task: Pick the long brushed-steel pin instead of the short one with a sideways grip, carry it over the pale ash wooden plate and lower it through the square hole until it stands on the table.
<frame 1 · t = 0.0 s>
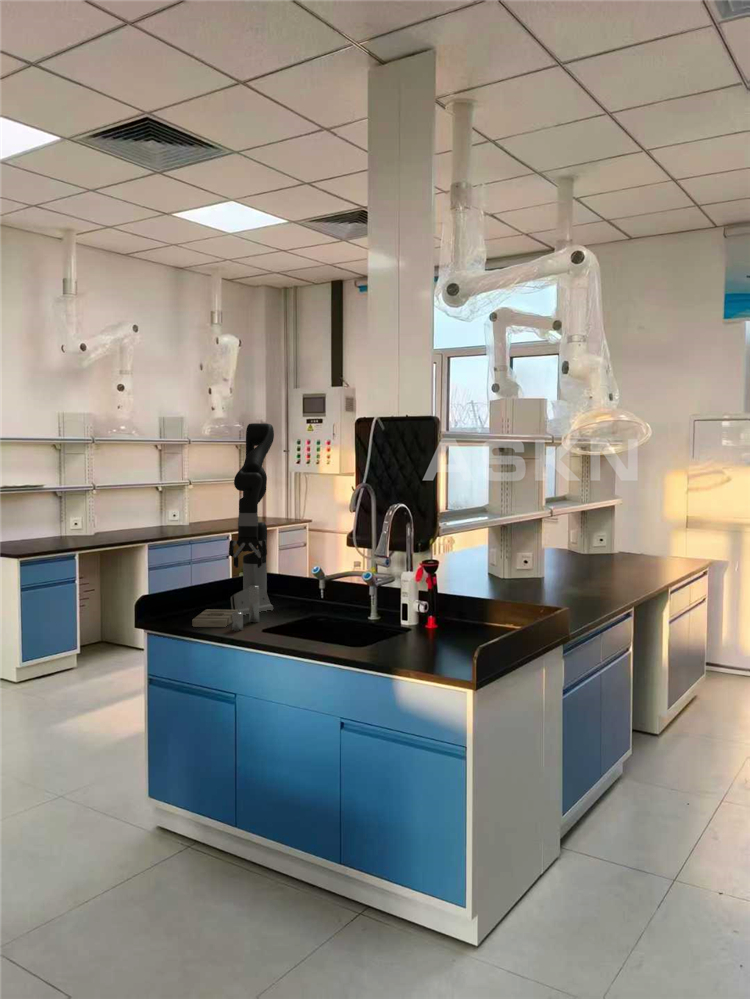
hand: (247, 567, 299), 17 cm above the countertop, tool pointing down, fingers open, 8 cm apart
short pin: (237, 630, 270), on the countertop
hole plate: (215, 621, 284), on the countertop
hinge: (251, 612, 301), on the countertop
long pin: (254, 621, 283), on the countertop
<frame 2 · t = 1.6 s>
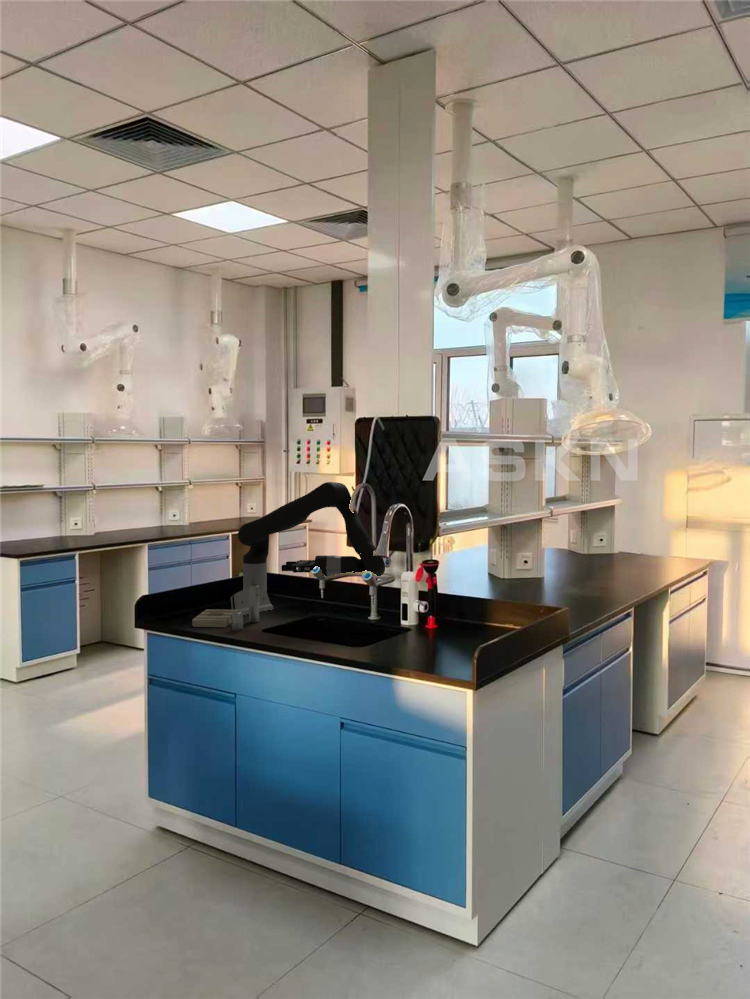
hand: (283, 566, 281), 20 cm above the countertop, tool horizontal, fingers open, 8 cm apart
nothing on the countertop moved.
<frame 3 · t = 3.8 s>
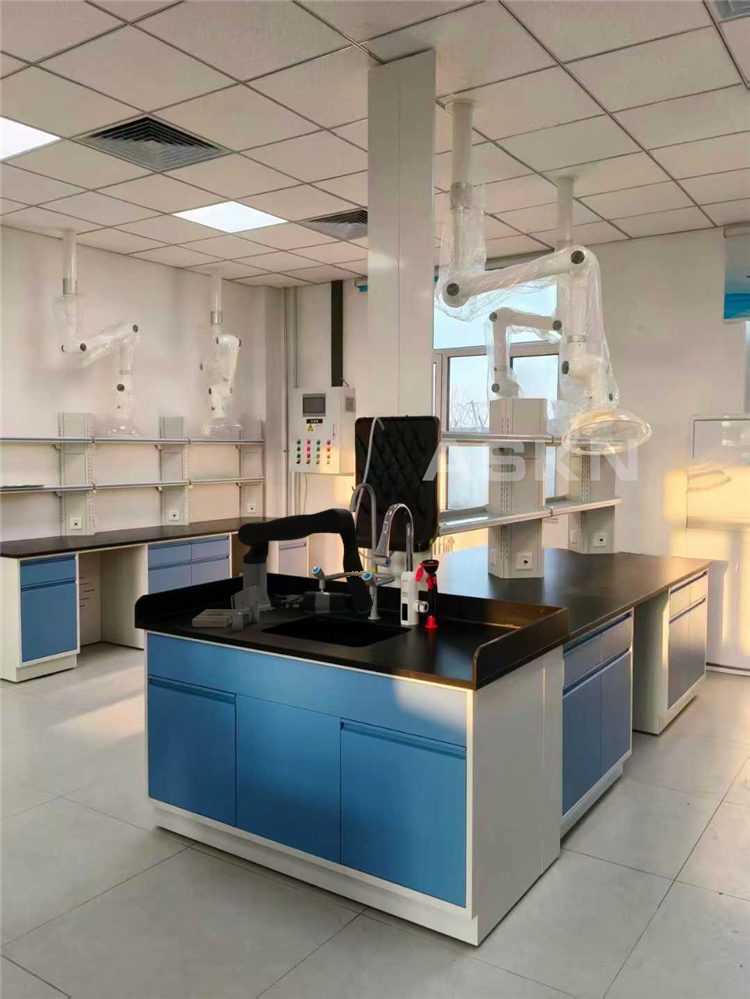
hand: (272, 601, 282), 7 cm above the countertop, tool horizontal, fingers open, 8 cm apart
nothing on the countertop moved.
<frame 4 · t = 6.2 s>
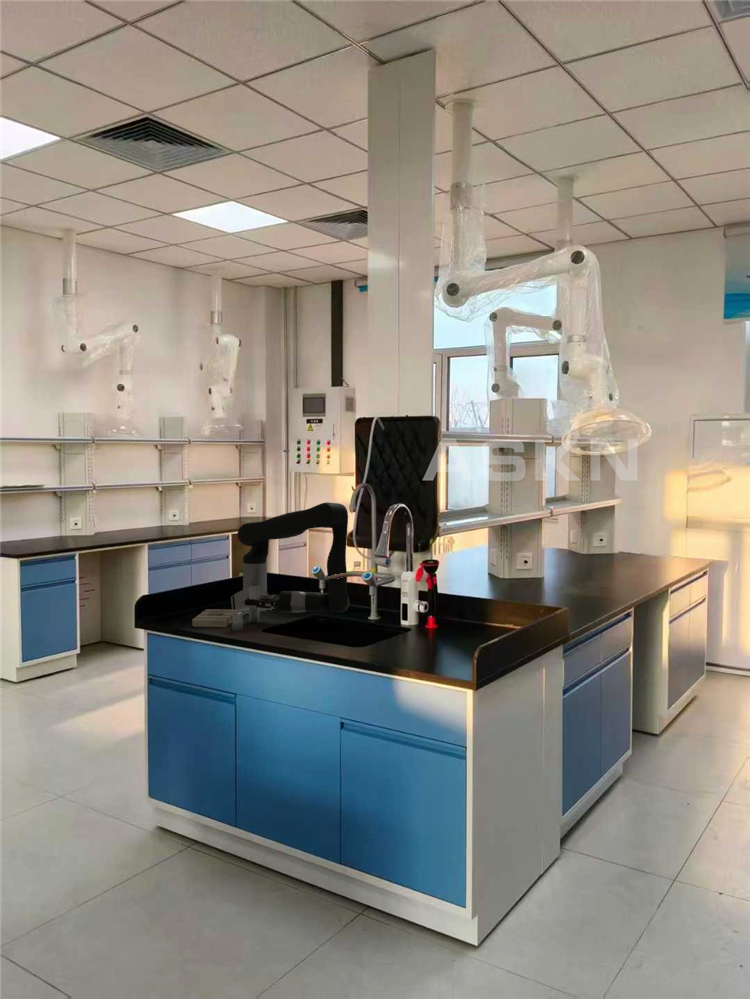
hand: (246, 601, 283), 8 cm above the countertop, tool horizontal, fingers closed on long pin, 3 cm apart
long pin: (254, 621, 283), on the countertop, touching gripper
everything else where it was.
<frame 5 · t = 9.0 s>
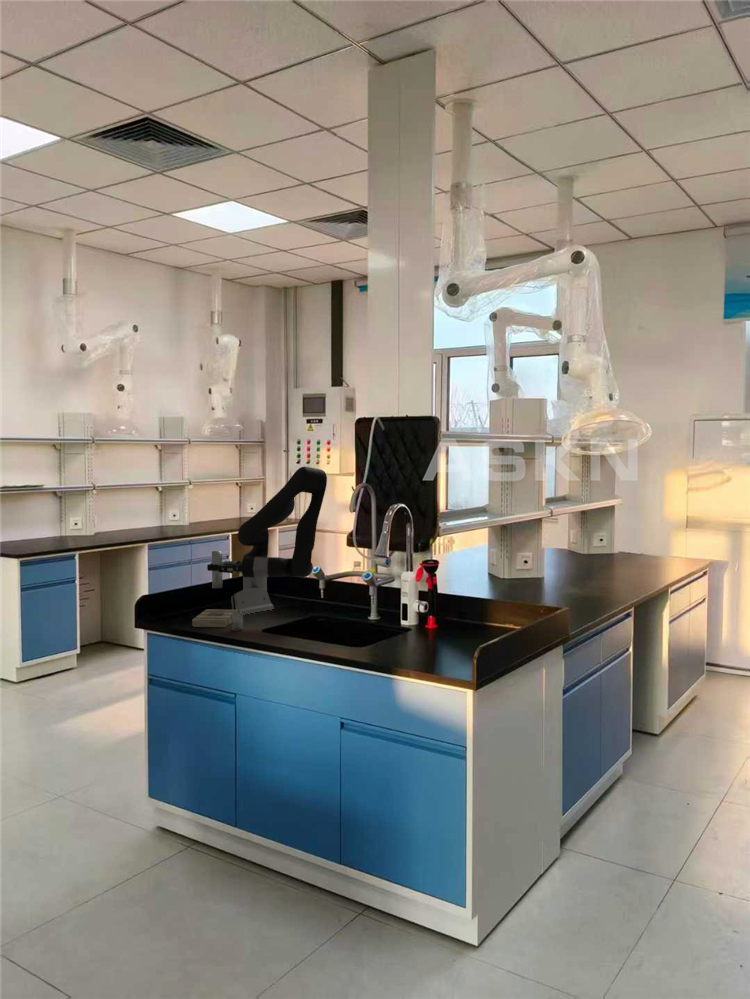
hand: (209, 566, 283), 20 cm above the countertop, tool horizontal, fingers closed on long pin, 3 cm apart
long pin: (217, 587, 283), point 12 cm above the countertop, touching gripper
everything else where it was.
when the fingers open (9 cm above the countertop, at t = 12.1 s): long pin drops 1 cm, resting in hole plate.
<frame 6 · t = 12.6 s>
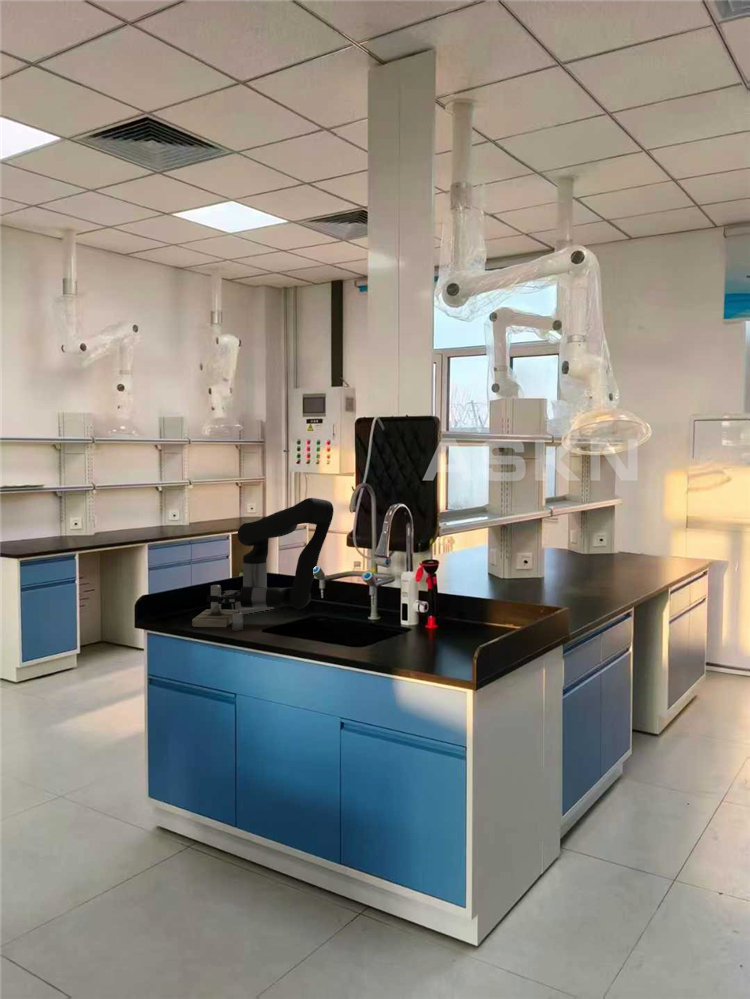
hand: (210, 596, 283), 9 cm above the countertop, tool horizontal, fingers open, 8 cm apart
long pin: (216, 621, 284), resting in hole plate
everything else where it was.
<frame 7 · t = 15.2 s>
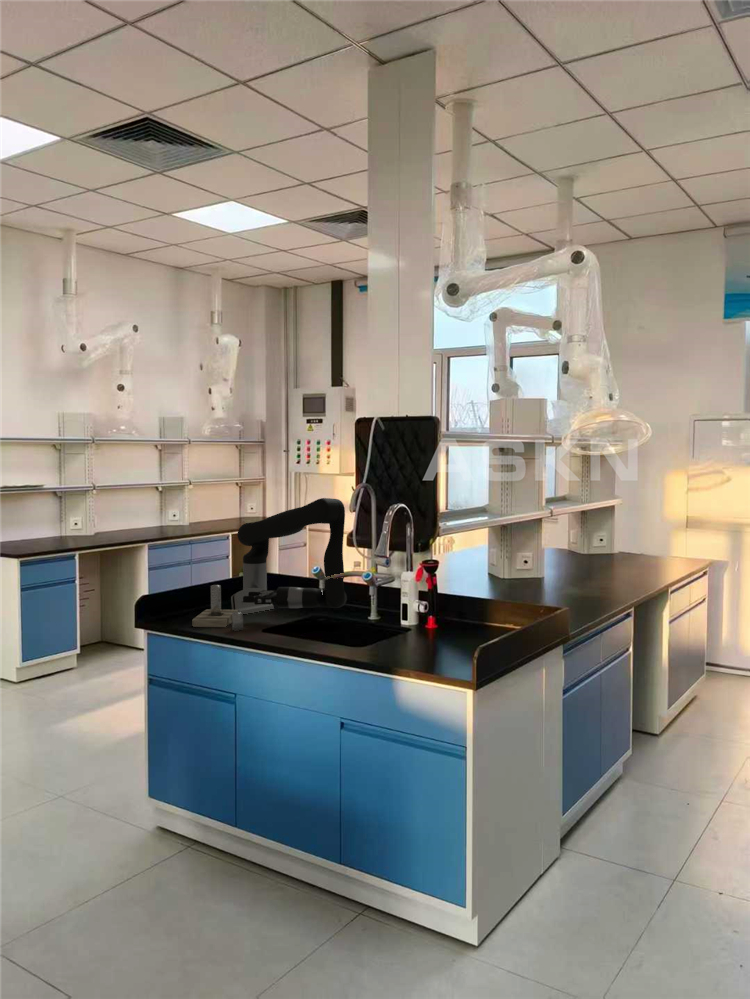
hand: (245, 597, 283), 9 cm above the countertop, tool horizontal, fingers open, 8 cm apart
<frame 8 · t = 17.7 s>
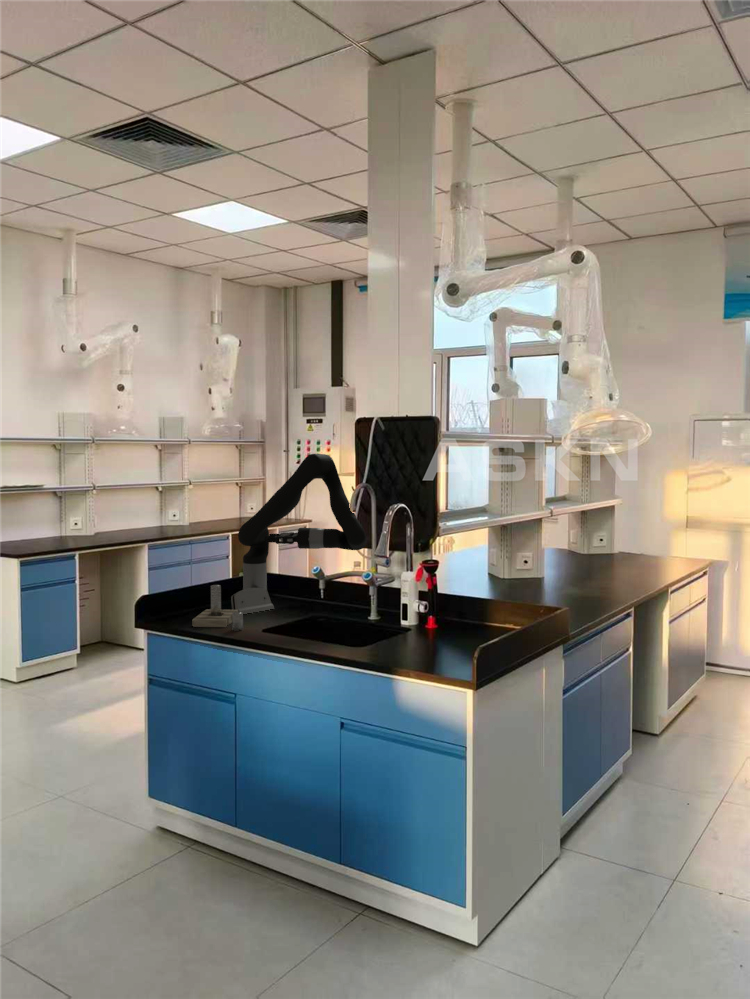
hand: (267, 537, 285), 30 cm above the countertop, tool horizontal, fingers open, 8 cm apart
at the end: long pin 0.1 cm off-centre on the hole plate, point 0.0 cm above the hole plate's base; long pin tilted 0°; the gripper is holding nothing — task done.
